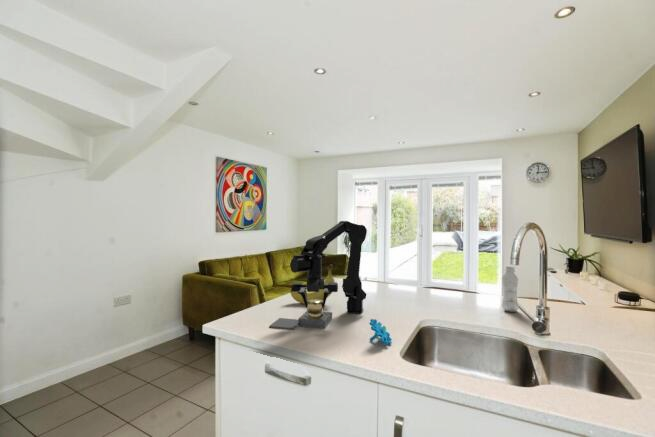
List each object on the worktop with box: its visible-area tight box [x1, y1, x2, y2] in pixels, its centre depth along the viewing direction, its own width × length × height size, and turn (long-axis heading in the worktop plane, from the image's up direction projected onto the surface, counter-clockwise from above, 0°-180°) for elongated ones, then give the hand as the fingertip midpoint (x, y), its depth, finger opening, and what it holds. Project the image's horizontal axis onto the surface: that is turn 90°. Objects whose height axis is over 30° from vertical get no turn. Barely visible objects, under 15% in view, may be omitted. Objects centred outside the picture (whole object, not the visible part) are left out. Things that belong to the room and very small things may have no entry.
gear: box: [368, 318, 393, 346], centre depth 108 cm, size 11×6×10 cm
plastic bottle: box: [501, 266, 519, 313], centre depth 142 cm, size 6×7×20 cm
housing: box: [297, 310, 333, 329], centre depth 127 cm, size 11×11×3 cm
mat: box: [268, 317, 299, 331], centre depth 125 cm, size 10×10×1 cm
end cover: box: [306, 299, 324, 318], centre depth 127 cm, size 6×6×7 cm
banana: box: [290, 263, 336, 305], centre depth 155 cm, size 23×6×20 cm, turn 81°
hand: (315, 307), depth 127 cm, fingers closed on end cover, 6 cm apart
